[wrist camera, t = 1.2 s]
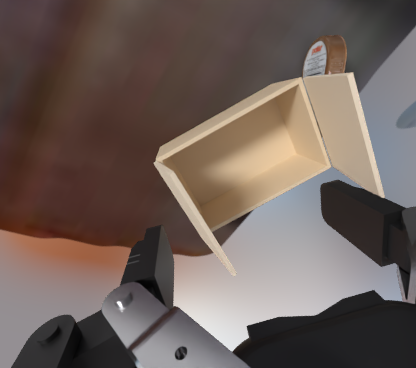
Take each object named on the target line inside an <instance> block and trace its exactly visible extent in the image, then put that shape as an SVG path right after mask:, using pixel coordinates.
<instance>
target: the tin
mask: <svg viewBox="0 0 416 368" xmlns="http://www.w3.org/2000/svg"><path fill="white" fill-rule="evenodd" d="M346 59H347V47H346V43H345V40H344V39H343V37H342V36H340V35H334V36H321V37H319V38H318V39H316V40H315V41H314V42H313V43H312V44H311V46H310V48H309V50H308V52H307V54H306V57H305V60H304V65H303V72H302V81H303V84H304V87H305V90H306V93H307V95H308V92H307V89H306V86H305V83H304V80H303V78H305V77H306V76H317V75H329V74H341V73H344V71H345V66H346ZM308 98H309V95H308ZM309 101H310V98H309ZM310 104H311V101H310ZM311 107H312V104H311ZM312 110H313V107H312ZM313 113H314V110H313ZM314 116H315V113H314ZM315 119H316V116H315ZM316 122H317V119H316ZM317 125H318V122H317ZM318 128H319V125H318ZM319 131H320V128H319ZM320 134H321V131H320ZM321 137H322V134H321Z"/></svg>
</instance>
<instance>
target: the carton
mask: <svg viewBox="0 0 416 368" xmlns="http://www.w3.org/2000/svg"><path fill="white" fill-rule="evenodd" d="M156 160H157V162H159V163H161V164H162V165H164V166H166V167H167V168H169V169H170V170H172V171H174V173H175V174H176V176H177V177H178V179H179V181H180V182H181V184H182V186H183V187H184V189H185V190H186V192H187V194H188V195H189V197H190V198H191V200H192V202H193V203H194V205H195V206H196V208H197V210H198V211H199V213H200V215H201V216H202V218H203V219H204V221H205V223H206V224H207V226H208V227H209V229H210V231H211V232H213V231H215V230H216V229H218V228H220V227H222V226H224V225H226V224H228V223H229V222H231V221H233V220H235V219H237V218H239V217H240V216H242V215H244V214H246V213H248V212H250V211H252V210H253V209H255V208H257V207H259V206H261V205H263V204H264V203H266V202H268V201H270V200H272V199H274V198H275V197H277V196H279V195H281V194H283V193H285V192H287V191H289V190H290V189H292V188H294V187H296V186H298V185H300V184H301V183H303V182H305V181H307V180H309V179H311V178H313V177H314V176H316V175H318V174H320V173H322V172H324V171H325V170H327V169H329V168H331V164H330V161H329V158H328V155H327V152H326V149H325V146H324V143H323V140H322V137H321V134H320V131H319V128H318V125H317V122H316V119H315V116H314V113H313V110H312V107H311V104H310V101H309V98H308V95H307V93H306V90H305V87H304V84H303V81H302V78H301V77H300V78H295V79H291V80H287V81H282V82H278V83H274V84H271V85H269V86H267V87H265V88H264V89H262V90H260V91H258V92H256V93H255V94H253V95H251V96H249V97H248V98H246V99H244V100H242V101H241V102H239V103H237V104H235V105H233V106H232V107H230V108H228V109H226V110H225V111H223V112H221V113H219V114H218V115H216V116H214V117H212V118H210V119H209V120H207V121H205V122H203V123H202V124H200V125H198V126H196V127H195V128H193V129H191V130H189V131H187V132H186V133H184V134H182V135H180V136H179V137H177V138H175V139H173V140H172V141H170V142H168V143H166V144H164V145H163V146H161V147H160V149H159V152H158V155H157V157H156Z"/></svg>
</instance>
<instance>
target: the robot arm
mask: <svg viewBox="0 0 416 368" xmlns="http://www.w3.org/2000/svg"><path fill="white" fill-rule="evenodd" d="M320 190H321V191H320V192H321V210H322V216H323V218H324V220H325V221H326V223H327V224H328V225H329V226H331V227H332V228H333V229H334V230H336V231H337V232H338V233H339V234H341V235H342V236H343V237H344V238H346V239H347V240H348V241H349V242H351V243H352V244H353V245H355V246H356V247H357V248H358V249H360V250H361V251H362V252H363V253H364V254H366V255H367V256H368V257H369V258H371V259H372V260H373V261H375V262H376V263H377V264H378V265H380V266H381V267H382V266H386V265H390V264H393V263H396V264H397V276H398V281H399V286H400V290H401V295H402V300H403V302H402V301H392V300H384V299H383V298H382V297H381V296H380V295H378V293H376V292H375V291H374V290H372V291H369V292H366V293H362V294H358V295H355V296H352V297H348V298H345V299H342V300H340V301H339V302H337V303H336V304H334V305H332V306H331V307H329V308H328V309H326V310H325V311H323V312H321V313H320V314H318V315H315V316H293V317H277V318H273V319H270V320H266V321H263V322H259V323H256V324H252V325H248V326H247V330H248V335H249V338H248V339H246V340H245V341H243V342H242V343H241V344H240V345H239V346H237V347H236V348H235V349H234V351H233V352H231V351H230V350H229V349H228V348H226V347H225V346H224V345H223V344H222V343H220V342H219V341H218V340H217V339H216V338H214V337H213V336H212V335H211V334H210V333H209V332H207V331H206V330H205V329H204V328H203V327H201V326H200V325H199V324H198V323H197V322H195V321H194V320H193V319H192V318H191V317H189V316H188V315H187V314H186V313H184V312H183V311H182V310H181V309H180V308H178V307H176V306H174V307H173V292H174V290H173V289H174V259H173V254H172V250H171V247H170V244H169V241H168V238H167V235H166V232H165V229H164V227H163V225H159V226H155V227H151V228H148V229H147V230H146V233H145V237H144V240H142V241H138V242H137V243H136V244H135V246H134V247H133V248H132V249H131V253H130V255H129V259H128V262H127V265H126V268H125V271H124V275H123V277H122V281H121V284H120V286H119V287H117V288H116V289H114V290H113V291H112V292H111V293H109V295H108V296H107V297H106V298H105V300H104V301H103V303H102V307H101V310H100V311H98V312H97V313H95V314H93V315H91V316H89V317H87V318H85V319H83V320H81V321H80V322H77V323H76V321H75V320H74V318H73V317H72V316H71V315H61V316H58V317H55V318H53V319H51V320H49V321H48V322H46V323H45V324H43V325H42V326H41V327H39V328H38V329H37V330H36V331H35V332H34V333H33V334H32V335H31V336H30V338H29V339H28V340H27V342H26V344H25V345H24V347H23V349H22V350H21V352H20V354H19V355H18V357H17V359H16V360H15V362H14V364H13V365H12V367H11V368H416V207H410V208H405V207H402V206H400V205H398V204H396V203H393V202H392V201H389V200H387V199H385V198H381V197H380V196H378V195H376V194H373V193H372V192H369V191H367V190H365V189H362V188H357V187H353V186H351V185H349V184H347V183H345V182H342V181H340V180H335V181H331V182H327V183H323V184H322V185H321V188H320Z"/></svg>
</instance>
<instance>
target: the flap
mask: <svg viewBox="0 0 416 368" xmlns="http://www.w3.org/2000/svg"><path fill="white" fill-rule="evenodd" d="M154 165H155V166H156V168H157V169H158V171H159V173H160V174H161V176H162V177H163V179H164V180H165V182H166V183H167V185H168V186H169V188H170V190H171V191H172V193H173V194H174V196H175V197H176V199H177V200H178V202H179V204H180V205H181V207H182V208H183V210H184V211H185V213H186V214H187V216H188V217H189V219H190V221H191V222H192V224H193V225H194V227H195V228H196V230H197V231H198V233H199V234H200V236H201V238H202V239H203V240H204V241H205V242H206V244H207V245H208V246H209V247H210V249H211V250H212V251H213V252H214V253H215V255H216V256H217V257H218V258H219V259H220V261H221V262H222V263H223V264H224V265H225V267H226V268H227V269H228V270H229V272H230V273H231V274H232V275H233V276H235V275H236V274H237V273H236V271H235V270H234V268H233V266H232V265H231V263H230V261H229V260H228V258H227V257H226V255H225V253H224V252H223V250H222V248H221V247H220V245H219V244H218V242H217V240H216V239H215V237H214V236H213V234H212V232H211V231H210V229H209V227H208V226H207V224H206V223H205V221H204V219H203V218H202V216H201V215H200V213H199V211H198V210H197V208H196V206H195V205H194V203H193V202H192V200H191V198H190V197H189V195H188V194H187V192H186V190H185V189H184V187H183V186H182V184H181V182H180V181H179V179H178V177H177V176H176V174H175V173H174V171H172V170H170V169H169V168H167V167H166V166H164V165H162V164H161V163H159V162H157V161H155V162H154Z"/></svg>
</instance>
